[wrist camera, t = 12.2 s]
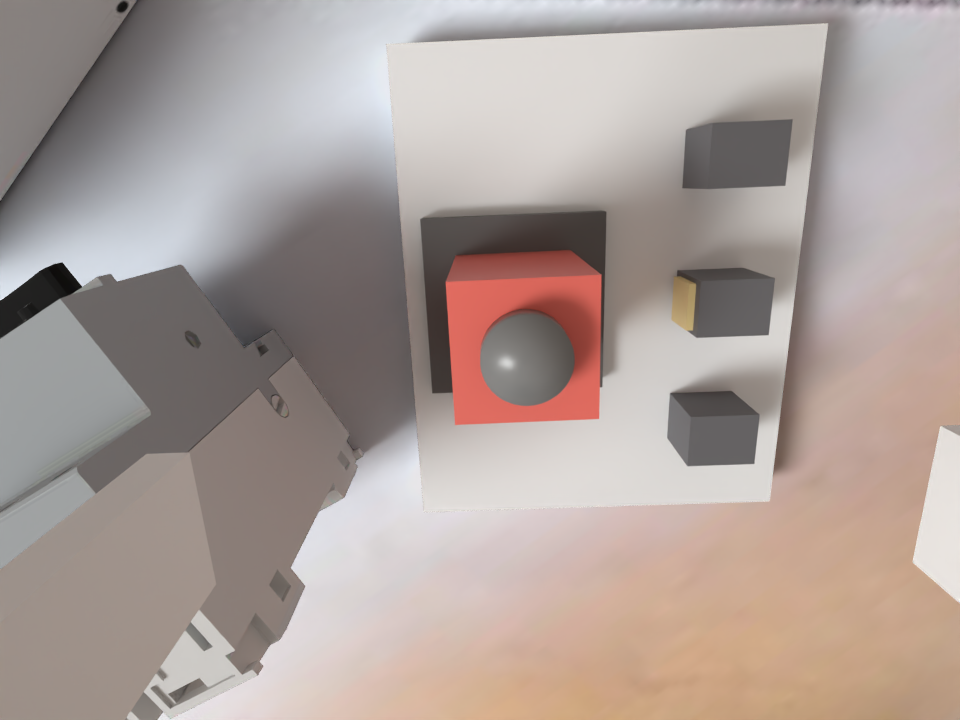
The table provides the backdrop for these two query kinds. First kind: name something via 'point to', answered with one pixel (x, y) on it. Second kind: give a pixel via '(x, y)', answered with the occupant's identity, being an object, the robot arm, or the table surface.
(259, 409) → the circuit breaker
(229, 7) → the table surface
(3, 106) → the stereo radio cassette player
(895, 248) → the table surface
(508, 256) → the cap
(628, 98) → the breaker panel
